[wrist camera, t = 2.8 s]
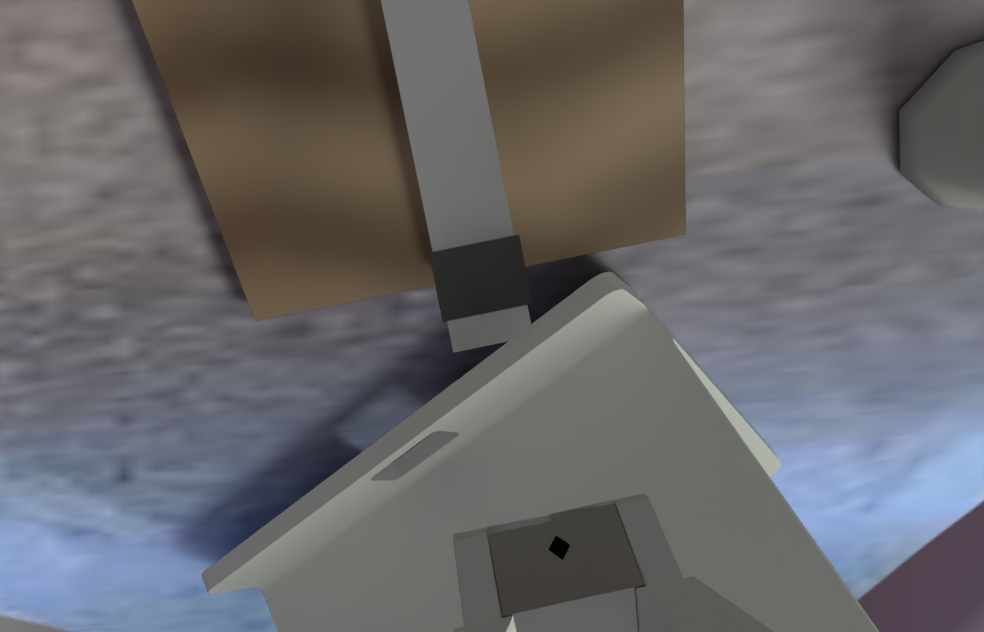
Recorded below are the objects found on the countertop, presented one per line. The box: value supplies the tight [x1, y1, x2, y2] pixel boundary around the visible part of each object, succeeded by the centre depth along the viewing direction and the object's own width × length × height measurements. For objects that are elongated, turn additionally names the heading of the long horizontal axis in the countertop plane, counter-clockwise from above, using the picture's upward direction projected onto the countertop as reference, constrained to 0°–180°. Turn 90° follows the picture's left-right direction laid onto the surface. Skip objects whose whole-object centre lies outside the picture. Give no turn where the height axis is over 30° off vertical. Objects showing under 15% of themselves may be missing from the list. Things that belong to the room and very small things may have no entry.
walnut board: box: [132, 0, 686, 321], centre depth 28 cm, size 18×18×1 cm
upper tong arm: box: [381, 0, 533, 353], centre depth 23 cm, size 16×4×2 cm, turn 8°
